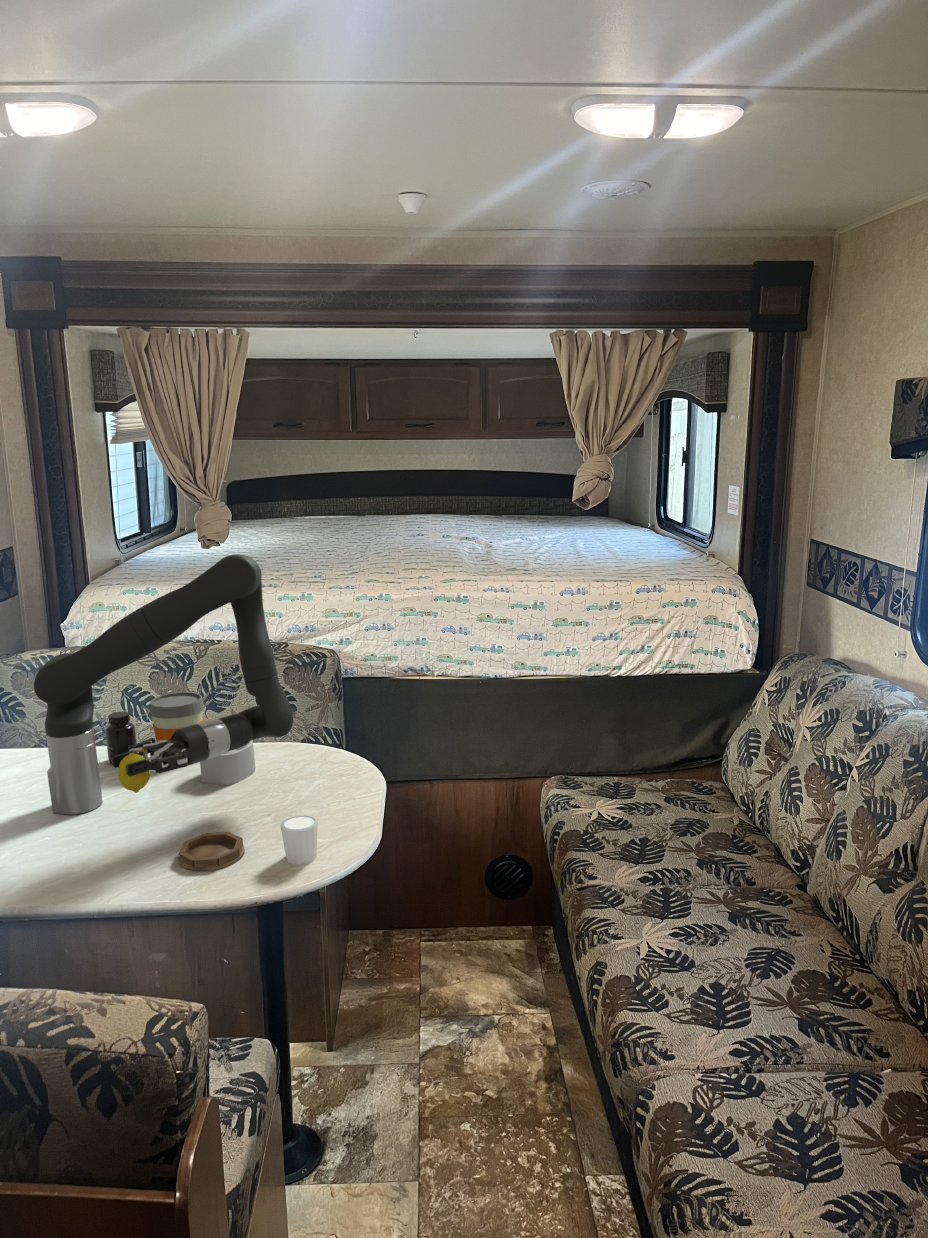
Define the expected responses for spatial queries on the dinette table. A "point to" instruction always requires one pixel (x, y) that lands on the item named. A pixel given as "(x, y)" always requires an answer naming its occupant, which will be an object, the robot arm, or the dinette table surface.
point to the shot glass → (300, 838)
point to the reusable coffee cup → (175, 713)
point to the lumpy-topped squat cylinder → (229, 766)
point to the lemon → (133, 781)
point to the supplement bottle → (119, 734)
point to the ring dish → (211, 851)
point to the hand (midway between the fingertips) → (120, 766)
